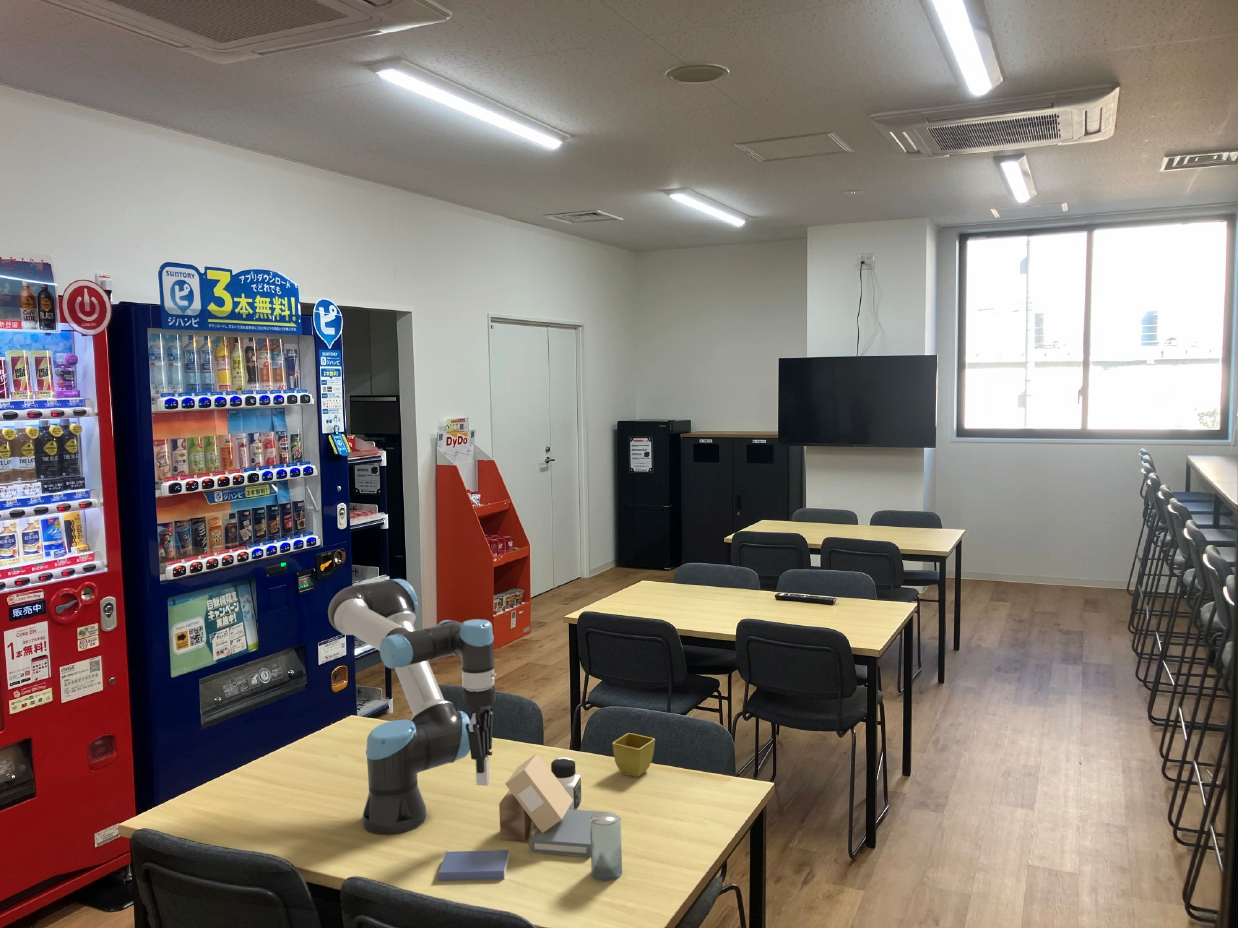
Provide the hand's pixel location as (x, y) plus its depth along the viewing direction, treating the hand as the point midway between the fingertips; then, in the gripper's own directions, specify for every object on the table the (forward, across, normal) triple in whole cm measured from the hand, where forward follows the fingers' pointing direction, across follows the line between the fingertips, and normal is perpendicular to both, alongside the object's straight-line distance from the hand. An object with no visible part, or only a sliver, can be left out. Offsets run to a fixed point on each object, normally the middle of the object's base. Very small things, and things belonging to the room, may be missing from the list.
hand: (483, 783), depth 217 cm
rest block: (+12, 0, -8) cm, 14 cm away
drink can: (+12, -14, -33) cm, 38 cm away
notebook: (+12, -17, -4) cm, 21 cm away
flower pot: (+12, +38, -29) cm, 49 cm away
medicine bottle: (+12, +15, -15) cm, 25 cm away
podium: (+12, 0, -21) cm, 24 cm away
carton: (+7, 0, -18) cm, 19 cm away
